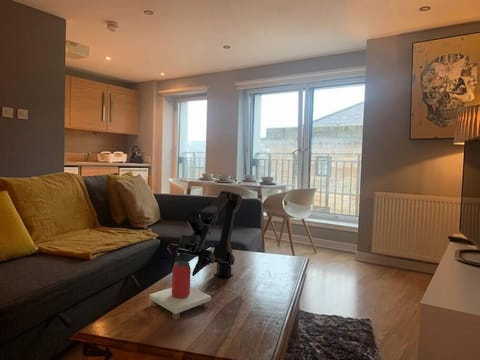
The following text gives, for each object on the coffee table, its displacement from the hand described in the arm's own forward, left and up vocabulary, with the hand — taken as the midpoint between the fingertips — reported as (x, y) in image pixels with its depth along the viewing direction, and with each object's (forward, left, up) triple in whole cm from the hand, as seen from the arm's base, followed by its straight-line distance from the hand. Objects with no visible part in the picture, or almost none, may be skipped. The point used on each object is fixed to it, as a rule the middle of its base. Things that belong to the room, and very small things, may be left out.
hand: (182, 273), depth 122 cm
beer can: (0, 0, -8) cm, 8 cm away
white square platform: (0, -1, -12) cm, 12 cm away
